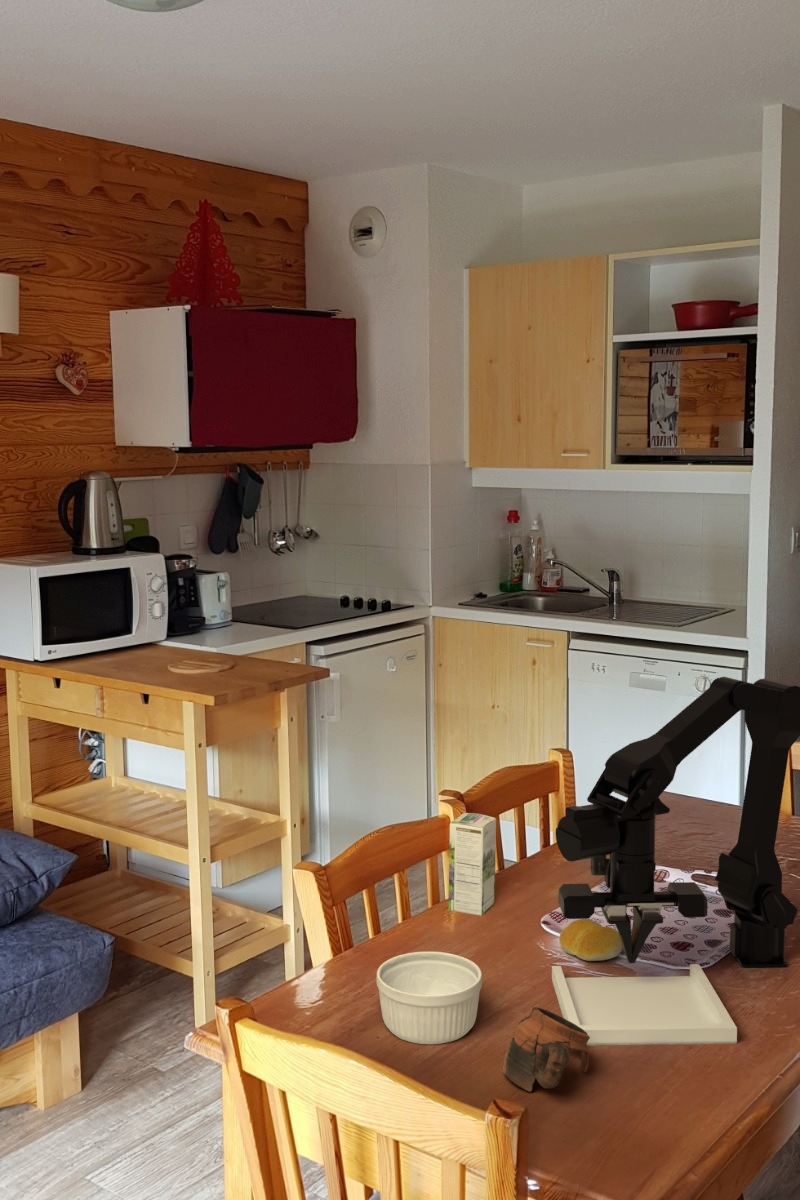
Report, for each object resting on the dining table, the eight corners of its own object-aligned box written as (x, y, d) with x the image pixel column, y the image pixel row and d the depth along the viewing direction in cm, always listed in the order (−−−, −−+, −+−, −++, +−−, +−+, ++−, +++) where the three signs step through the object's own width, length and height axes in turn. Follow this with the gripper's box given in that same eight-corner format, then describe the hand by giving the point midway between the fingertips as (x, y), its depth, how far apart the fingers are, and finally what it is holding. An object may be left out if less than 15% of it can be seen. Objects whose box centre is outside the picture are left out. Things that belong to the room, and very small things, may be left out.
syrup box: (461, 898, 192) (461, 811, 190) (496, 904, 190) (496, 815, 188) (448, 911, 187) (447, 821, 185) (483, 917, 185) (483, 826, 183)
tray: (698, 978, 163) (698, 964, 163) (736, 1043, 145) (737, 1028, 145) (551, 980, 163) (551, 966, 162) (571, 1045, 145) (572, 1030, 145)
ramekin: (457, 994, 159) (457, 944, 158) (499, 1039, 147) (500, 985, 146) (363, 1010, 155) (362, 959, 154) (398, 1059, 142) (398, 1003, 141)
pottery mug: (489, 1060, 142) (517, 994, 143) (559, 1092, 142) (587, 1026, 144) (511, 1092, 130) (542, 1020, 131) (588, 1127, 131) (618, 1055, 132)
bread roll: (597, 967, 165) (596, 940, 165) (550, 949, 172) (549, 923, 172) (636, 950, 170) (635, 923, 170) (589, 933, 177) (588, 907, 177)
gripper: (688, 828, 165) (686, 936, 167) (553, 829, 165) (552, 938, 167) (710, 855, 154) (707, 971, 156) (565, 857, 154) (564, 973, 156)
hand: (630, 961), depth 159 cm, fingers closed
